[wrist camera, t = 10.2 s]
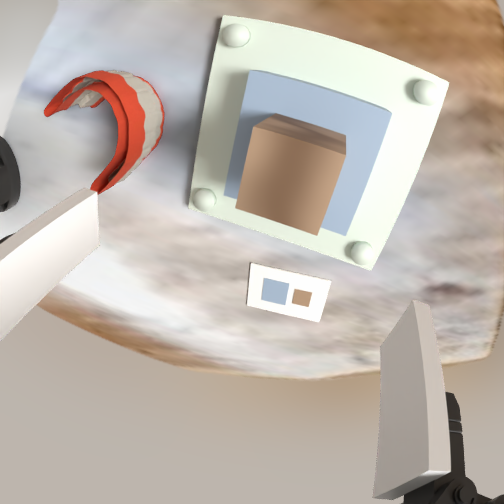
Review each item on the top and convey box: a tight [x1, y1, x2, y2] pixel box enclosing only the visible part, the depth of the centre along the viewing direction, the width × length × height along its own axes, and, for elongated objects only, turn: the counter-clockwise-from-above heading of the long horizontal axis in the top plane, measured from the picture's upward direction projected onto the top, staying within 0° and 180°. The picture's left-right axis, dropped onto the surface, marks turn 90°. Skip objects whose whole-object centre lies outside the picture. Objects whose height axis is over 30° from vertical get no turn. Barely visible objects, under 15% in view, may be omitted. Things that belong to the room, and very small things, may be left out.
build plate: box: [188, 15, 449, 271], centre depth 29 cm, size 22×22×2 cm
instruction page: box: [247, 263, 331, 322], centre depth 41 cm, size 10×7×1 cm
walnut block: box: [235, 113, 346, 236], centre depth 23 cm, size 6×6×7 cm
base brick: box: [224, 70, 392, 236], centre depth 28 cm, size 12×12×4 cm
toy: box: [44, 70, 164, 195], centre depth 30 cm, size 12×10×8 cm
